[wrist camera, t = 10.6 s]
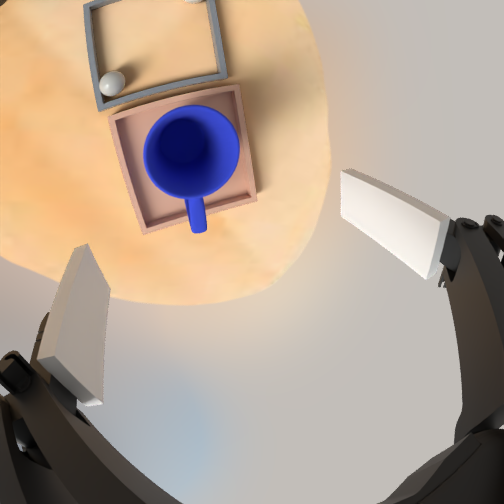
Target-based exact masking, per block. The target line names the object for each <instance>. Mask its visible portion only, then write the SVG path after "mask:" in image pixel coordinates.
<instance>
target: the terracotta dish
mask: <svg viewBox="0 0 504 504" xmlns="http://www.w3.org/2000/svg"><path fill="white" fill-rule="evenodd" d="M186 105H203V106H207V107H210V108H213V109H215V110H217V111H219V112H220V113H222V114H223V115H224V116H226V117H227V118H228V119H229V121H230V122H231V123H232V125H233V126H234V128H235V130H236V132H237V135H238V138H239V143H240V155H239V161H238V164H237V167H236V169H235V171H234V173H233V175H232V176H231V178H230V179H229V180H228V181H227V183H226V184H225V185H224V186H222V187H221V188H220V189H219V190H217V191H216V192H214V193H212V194H210V195H208V196H205V197H203V199H204V205H205V211H206V215H210V214H213V213H217V212H220V211H224V210H227V209H231V208H234V207H238V206H241V205H245V204H249V203H252V202H256V201H258V200H257V194H256V187H255V180H254V174H253V167H252V161H251V154H250V148H249V141H248V135H247V129H246V122H245V116H244V110H243V104H242V98H241V92H240V86H239V84H236V85H229V86H223V87H217V88H211V89H206V90H201V91H196V92H191V93H187V94H182V95H178V96H174V97H170V98H166V99H162V100H159V101H155V102H151V103H148V104H144V105H141V106H138V107H135V108H132V109H129V110H126V111H123V112H120V113H117V114H114V115H111V116H108V121H109V125H110V129H111V134H112V137H113V141H114V145H115V149H116V153H117V156H118V160H119V163H120V167H121V170H122V174H123V177H124V180H125V183H126V187H127V190H128V193H129V196H130V199H131V202H132V205H133V208H134V211H135V214H136V217H137V220H138V223H139V225H140V228H141V231H142V234H143V235H145V234H148V233H151V232H154V231H157V230H161V229H164V228H167V227H170V226H173V225H176V224H180V223H183V222H186V221H189V219H188V215H187V210H186V206H185V201H184V199H180V198H176V197H173V196H170V195H168V194H166V193H164V192H163V191H161V190H160V189H159V188H157V187H156V186H155V185H154V183H153V182H152V181H151V179H150V178H149V176H148V174H147V172H146V169H145V166H144V161H143V148H144V143H145V140H146V137H147V135H148V133H149V131H150V129H151V128H152V126H153V125H154V124H155V122H156V121H157V120H158V119H159V118H160V117H162V116H163V115H164V114H166V113H167V112H169V111H171V110H173V109H175V108H178V107H181V106H186Z"/></svg>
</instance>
